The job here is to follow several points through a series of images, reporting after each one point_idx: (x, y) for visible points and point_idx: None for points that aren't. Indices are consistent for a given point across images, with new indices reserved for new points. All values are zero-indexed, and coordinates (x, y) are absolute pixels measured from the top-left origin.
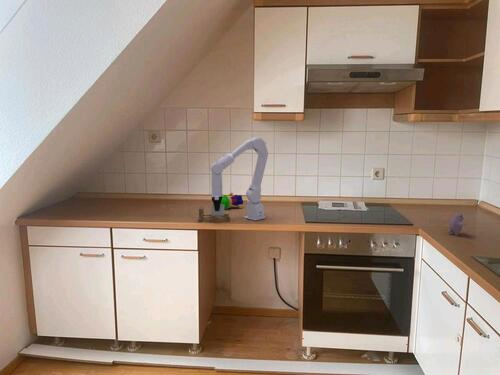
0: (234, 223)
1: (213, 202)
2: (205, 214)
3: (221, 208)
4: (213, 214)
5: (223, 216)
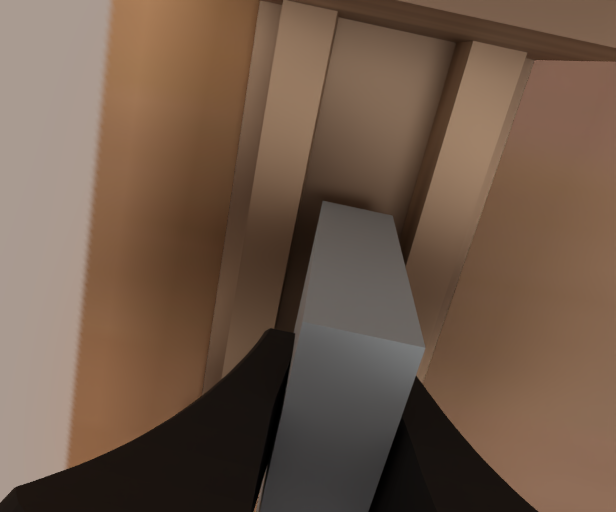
0: (88, 450)
1: (115, 458)
2: (473, 96)
3: (261, 493)
4: (310, 259)
5: None
